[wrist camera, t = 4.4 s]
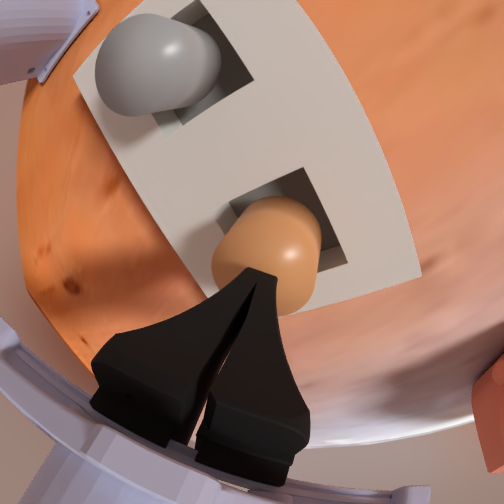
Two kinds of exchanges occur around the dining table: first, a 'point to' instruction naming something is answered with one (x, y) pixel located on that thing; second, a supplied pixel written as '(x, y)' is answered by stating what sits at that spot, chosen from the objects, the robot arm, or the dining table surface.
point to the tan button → (273, 249)
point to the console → (265, 149)
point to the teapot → (490, 415)
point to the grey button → (155, 65)
